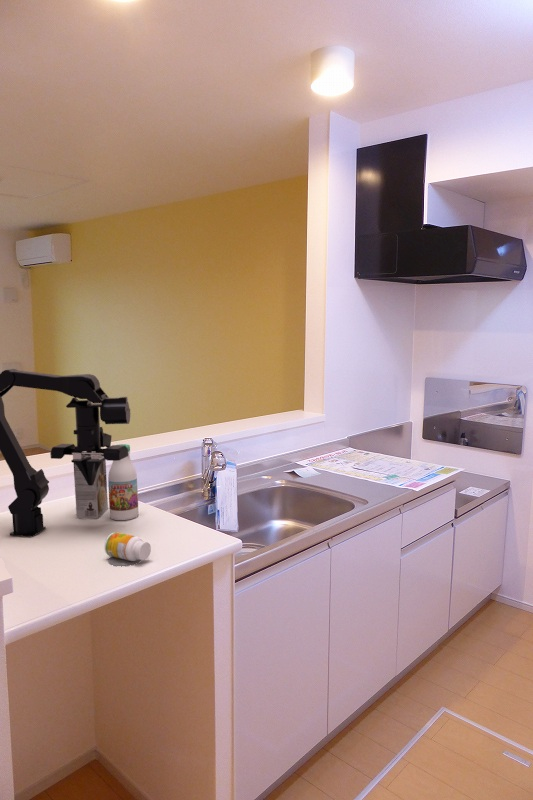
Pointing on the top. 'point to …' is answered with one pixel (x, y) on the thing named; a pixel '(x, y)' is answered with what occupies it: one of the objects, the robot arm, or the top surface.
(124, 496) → the milk bottle
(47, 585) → the top surface
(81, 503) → the coffee box
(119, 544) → the supplement bottle
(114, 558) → the coaster
